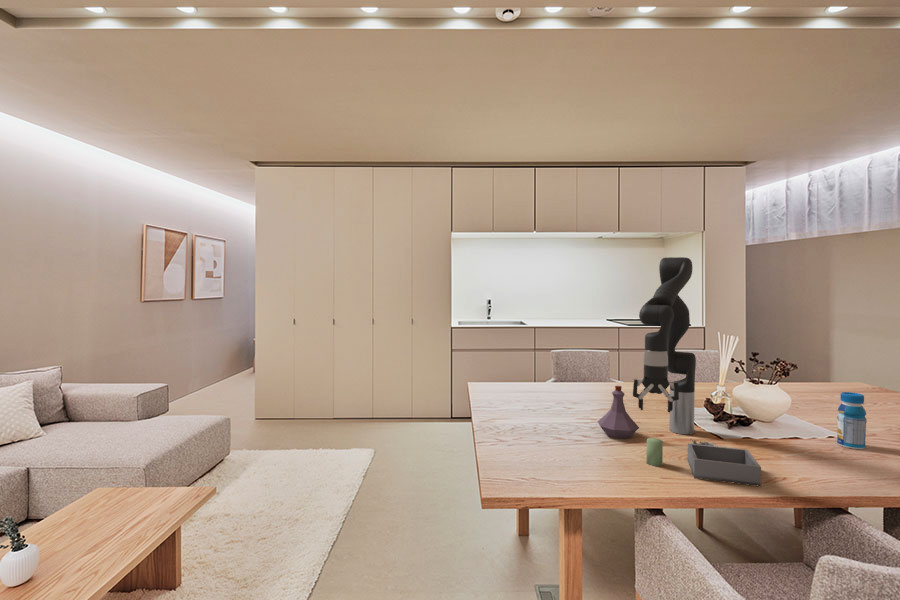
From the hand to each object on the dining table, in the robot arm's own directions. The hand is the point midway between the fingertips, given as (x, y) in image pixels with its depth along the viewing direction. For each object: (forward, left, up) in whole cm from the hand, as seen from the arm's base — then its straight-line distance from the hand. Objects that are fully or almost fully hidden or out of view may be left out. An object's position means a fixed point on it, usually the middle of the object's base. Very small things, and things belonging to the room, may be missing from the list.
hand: (655, 410), depth 158 cm
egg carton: (-17, +18, -19) cm, 31 cm away
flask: (-28, -12, -18) cm, 36 cm away
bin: (+1, +20, -18) cm, 27 cm away
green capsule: (0, 0, -18) cm, 18 cm away
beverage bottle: (-44, +71, -18) cm, 86 cm away
